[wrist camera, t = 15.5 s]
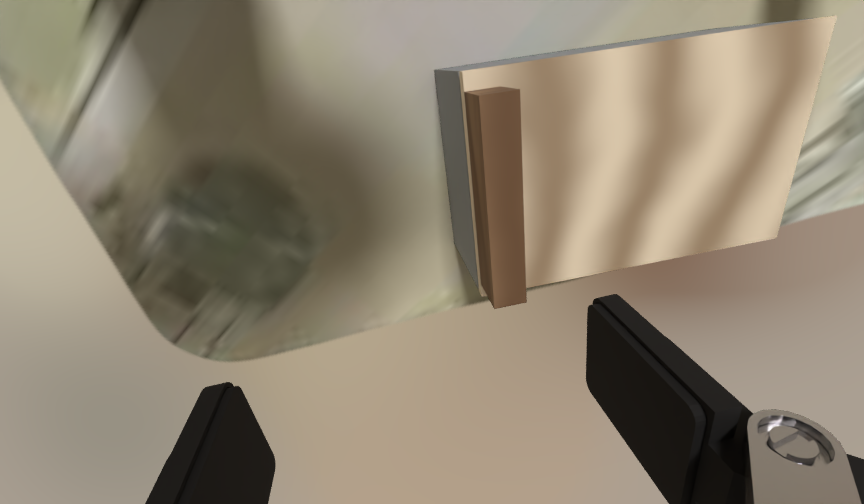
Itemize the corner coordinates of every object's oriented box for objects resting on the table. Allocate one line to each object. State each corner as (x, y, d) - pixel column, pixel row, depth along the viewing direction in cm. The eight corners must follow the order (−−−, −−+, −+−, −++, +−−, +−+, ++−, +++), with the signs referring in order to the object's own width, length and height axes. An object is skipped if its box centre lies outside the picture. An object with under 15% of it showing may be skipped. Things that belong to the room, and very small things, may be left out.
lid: (479, 291, 28) (495, 322, 24) (458, 71, 22) (477, 72, 18) (766, 233, 30) (819, 255, 26) (822, 17, 24) (900, 8, 20)
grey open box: (454, 243, 35) (478, 288, 28) (434, 69, 29) (458, 71, 22) (685, 200, 37) (763, 232, 30) (712, 28, 31) (818, 17, 24)
